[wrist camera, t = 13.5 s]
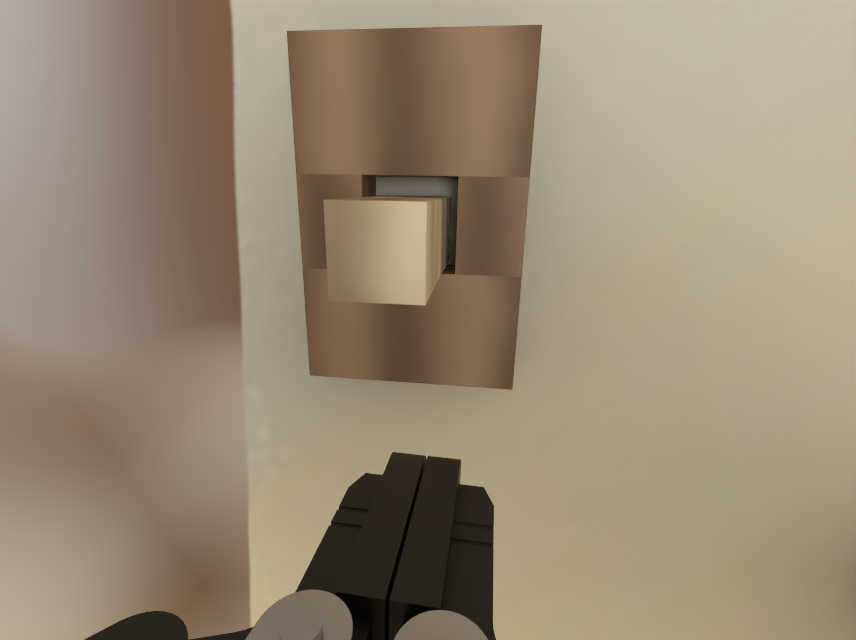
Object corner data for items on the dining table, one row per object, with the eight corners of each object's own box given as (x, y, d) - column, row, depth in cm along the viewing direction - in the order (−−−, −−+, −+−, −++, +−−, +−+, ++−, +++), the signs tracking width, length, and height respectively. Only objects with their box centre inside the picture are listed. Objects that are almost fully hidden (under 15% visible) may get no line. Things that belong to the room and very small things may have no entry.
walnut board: (534, 46, 22) (541, 25, 19) (509, 368, 28) (512, 389, 25) (310, 50, 24) (286, 31, 21) (327, 356, 29) (310, 375, 26)
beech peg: (451, 195, 25) (428, 200, 15) (449, 259, 26) (426, 306, 16) (388, 194, 25) (321, 198, 15) (389, 257, 26) (327, 302, 16)
